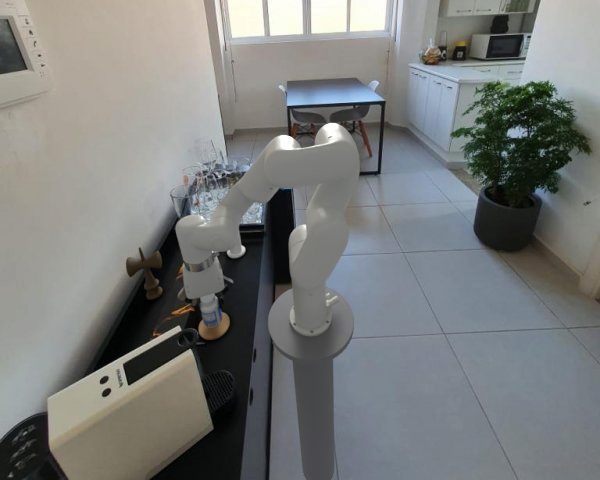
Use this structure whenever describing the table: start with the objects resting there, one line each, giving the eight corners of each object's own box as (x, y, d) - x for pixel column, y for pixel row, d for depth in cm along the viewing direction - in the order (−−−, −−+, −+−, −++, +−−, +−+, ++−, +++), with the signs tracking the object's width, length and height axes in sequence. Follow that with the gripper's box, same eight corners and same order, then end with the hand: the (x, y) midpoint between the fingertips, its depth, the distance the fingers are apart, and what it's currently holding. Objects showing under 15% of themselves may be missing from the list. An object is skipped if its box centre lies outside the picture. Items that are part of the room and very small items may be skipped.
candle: (228, 247, 124) (218, 193, 114) (245, 245, 125) (237, 191, 114) (226, 259, 118) (215, 203, 107) (245, 257, 118) (236, 201, 108)
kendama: (140, 292, 105) (123, 245, 97) (170, 284, 108) (156, 237, 100) (138, 306, 100) (120, 257, 92) (169, 297, 102) (155, 249, 94)
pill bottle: (213, 309, 94) (208, 285, 90) (226, 317, 92) (221, 292, 88) (199, 323, 90) (193, 299, 86) (213, 332, 87) (207, 307, 83)
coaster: (223, 307, 97) (223, 306, 97) (234, 329, 90) (234, 327, 90) (195, 322, 93) (194, 320, 93) (203, 346, 86) (203, 344, 86)
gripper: (230, 243, 87) (238, 290, 94) (165, 258, 83) (179, 306, 90) (233, 260, 80) (242, 310, 88) (163, 278, 76) (178, 328, 83)
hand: (210, 308), depth 89 cm, fingers closed on pill bottle, 5 cm apart
